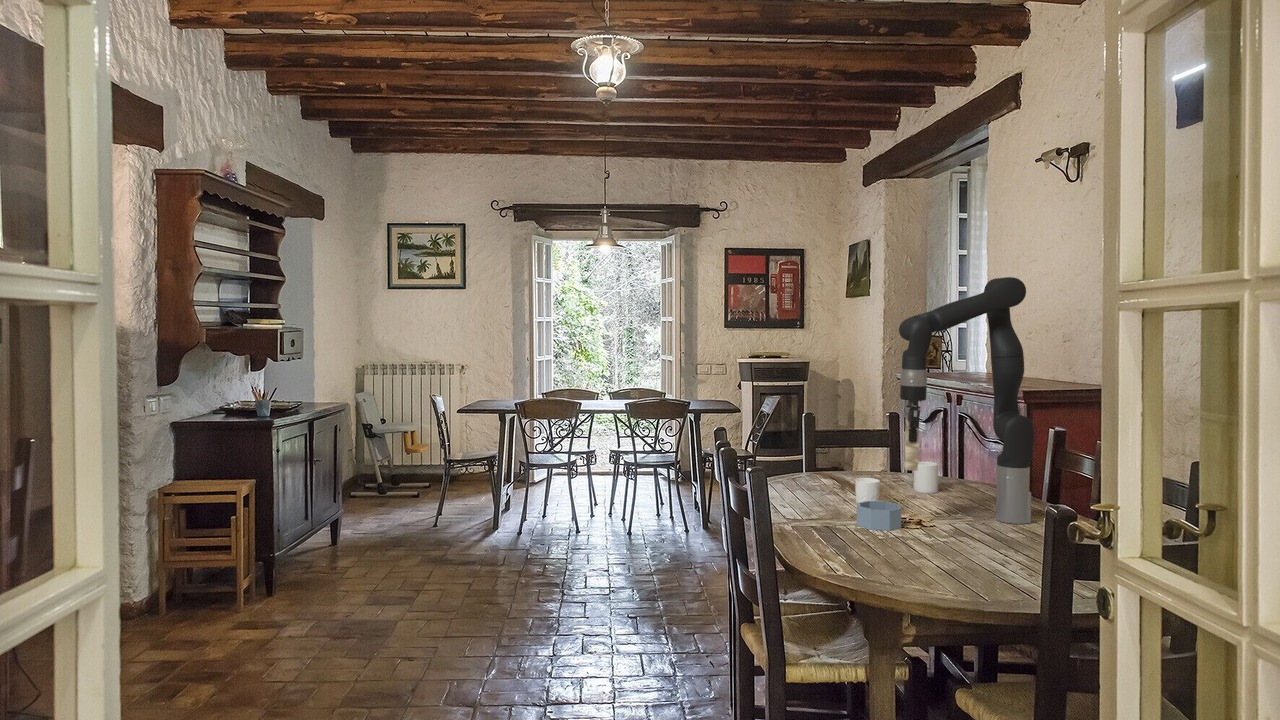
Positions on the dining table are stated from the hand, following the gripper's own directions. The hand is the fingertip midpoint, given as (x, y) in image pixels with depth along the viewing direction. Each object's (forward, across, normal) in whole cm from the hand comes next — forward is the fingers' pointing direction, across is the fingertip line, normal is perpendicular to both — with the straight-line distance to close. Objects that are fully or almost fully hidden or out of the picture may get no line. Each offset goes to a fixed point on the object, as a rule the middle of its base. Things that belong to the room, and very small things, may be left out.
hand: (911, 440), depth 241 cm
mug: (+26, +53, -12) cm, 60 cm away
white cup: (+26, +18, +11) cm, 34 cm away
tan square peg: (+9, 0, 0) cm, 9 cm away
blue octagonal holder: (+26, -1, +9) cm, 28 cm away
